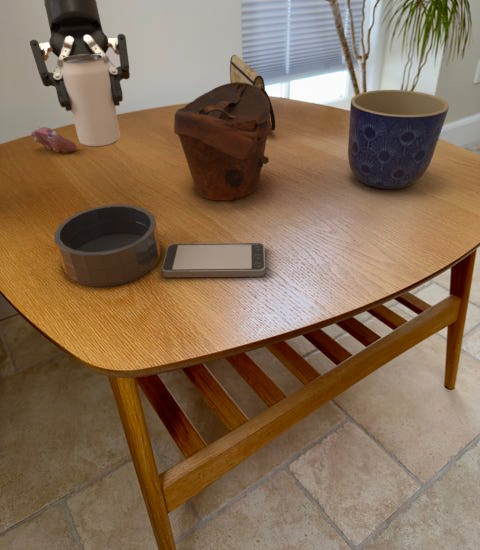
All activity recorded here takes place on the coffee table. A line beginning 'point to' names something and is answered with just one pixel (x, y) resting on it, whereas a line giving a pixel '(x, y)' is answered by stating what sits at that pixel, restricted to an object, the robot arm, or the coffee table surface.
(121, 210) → the bowl
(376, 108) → the planter
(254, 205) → the coffee table surface
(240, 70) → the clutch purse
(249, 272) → the smartphone
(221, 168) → the case
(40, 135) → the raw meat chunk
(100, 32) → the robot arm
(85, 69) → the can
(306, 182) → the coffee table surface
